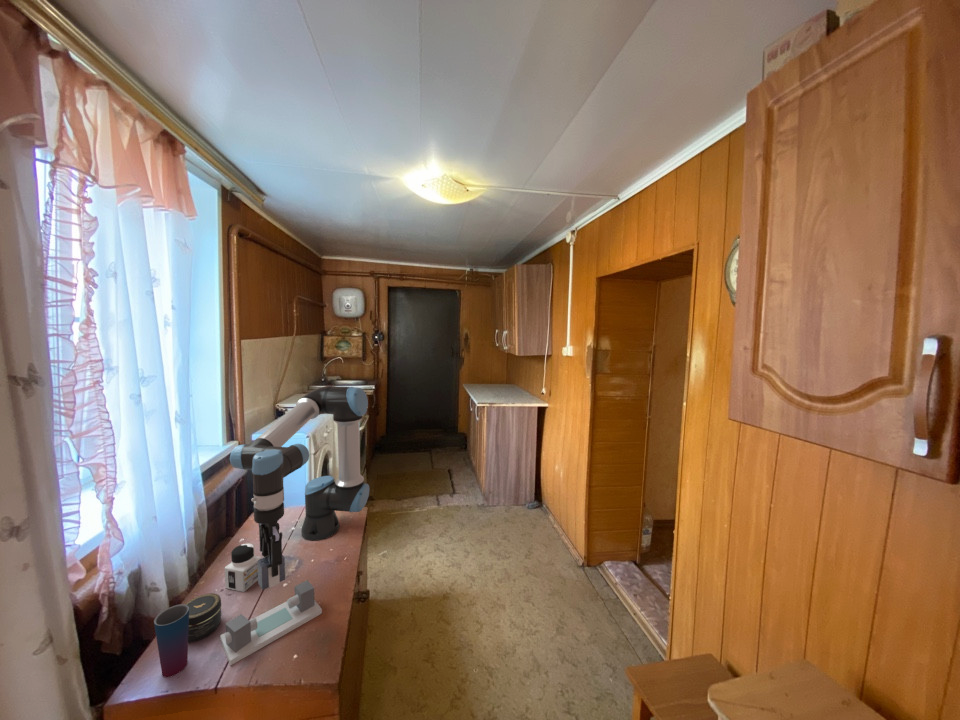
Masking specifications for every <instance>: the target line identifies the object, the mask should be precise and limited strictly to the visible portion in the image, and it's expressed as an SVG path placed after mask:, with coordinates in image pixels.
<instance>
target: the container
mask: <svg viewBox="0 0 960 720" xmlns="http://www.w3.org/2000/svg"><path fill="white" fill-rule="evenodd" d="M230 556H231V562H230V563H229V564H227V565H226V566H225V567H224V584H225V585H224V587H225V589H228V590H233V591H237V592H241V593H242V592H243V593H245V592H246V591H247V590H248V589H249V588H251V587H252V586H253V585H254V584H255V583H257V582H258V566H257V561H258V560H260V559H262V557H261V556H258V555H255V545H254V544H252V543H242V544H240V545H237V546H235V547H234V548H233V549H232V550H231V553H230Z"/></svg>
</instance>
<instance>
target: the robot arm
mask: <svg viewBox="0 0 960 720" xmlns="http://www.w3.org/2000/svg"><path fill="white" fill-rule="evenodd" d="M368 407H369V401H368V396H367V394H366V392H365V391H364V389H363V388H361V387H355V386H332V385H331V386H330V385H326V386H321V387H318V388H316V389H313V390H312V391H310V392H308V393H306V394H305V395H304V396H302V397H301V398H299V400H298V401H296V404H295V406H294V407H293V408H292V409H290V410H289V411H288V412H286V413H285V415H284V414H283V416H282V417H281V418H279V420H277V421H276V422H275V423H273V424H272V425H271V426H270V427H269V428H267V430H265V431H264V432H262V434H260V435H259V436H258V437H257V438H256V439H254V440H253V441H252V442H251V443H249V444H247V443H244V444H239V445H236V446H235V447H234V448H233V449H232V450H231V452H230V456H229V462H230V465H231V466H232V468H235V469H239V470H243V471H247V470H248V471H251V472H252V486H253V487H252V488H253V490H252V494H253V497H252V498H251V502H252V503H253V507H254V508H253V520H254V522H255V523H256V524H258V535H259V537H258V538H259V551H260V553H261V556H262V559H263V558H265V557H267V556H268V557H269V565H267V566H266V567H267V568H268V585H269V587H268V588H269V589H270V588H272V587H275V586H277V585H279V584H280V583H281V582H280V576H279V565H281V564H282V555H283V548H282V545H283V543H282V541H283V532H281V531H280V523H279V520H280V519H282V518H283V517H284V515H285V503H284V501H285V489H284V478H285V477H287V476H289V475H290V474H293V473H294V472H296V471H297V470H298V469H301V468H302V467H303V466H304V465H305V464H307V462H308V461H309V459H310V452H309V449H308V448H307V446H306V445H305V444H302V443H295V444H291V445H289V446H284V445H285V444H286V443H287V442H288V441H289V440H290V439H291V438H292V437H293V436H294V435H296V434H297V433H298V431H300V430H301V428H303V427H305V425H306V424H307V423H308V422H309V421H311V420H313V419H316V418H317V417H318V416H321V415H332V420H333V422H335V423H336V425H337V426H336V427H337V454H338V455H337V457H338V461H337V462H338V478H337V479H335V477H334V476H332V475H323V476H319V477H315V478H313V479H311V480H310V481H308V482H307V483H306V485H305V488H304V502H305V503H304V505H305V506H304V508H305V517H304V520H303V522H302V526H301V529H300V531H301V534H300V535H301V538H303V539H304V540H308V541H321V540H324V539H328V538H330V537H331V536H333V535H335V534H336V533H338V531H339V528H340V522H339V518H338V516H337V514H336V511H337V512H348V513H359V512H362V511H363V509H364V508H365V506H366V505H367V502H368V499H369V497H370V485H369V484H368V483H365V478H364V477H365V476H363V475H362V474H361V454H360V421H362V420H363V417H364V416H365V415H366V414H367V412H368Z"/></svg>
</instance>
